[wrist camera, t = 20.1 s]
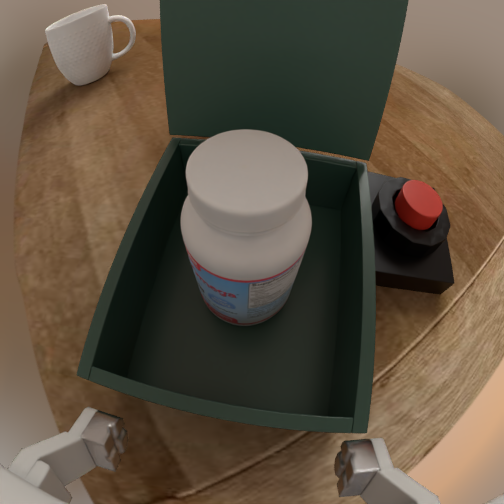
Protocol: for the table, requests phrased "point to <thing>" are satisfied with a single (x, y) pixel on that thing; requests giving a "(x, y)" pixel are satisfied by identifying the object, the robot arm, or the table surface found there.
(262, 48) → the box lid
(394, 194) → the control block
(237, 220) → the pill bottle
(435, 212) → the button
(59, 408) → the table surface
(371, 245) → the box
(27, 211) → the table surface
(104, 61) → the mug
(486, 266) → the table surface
